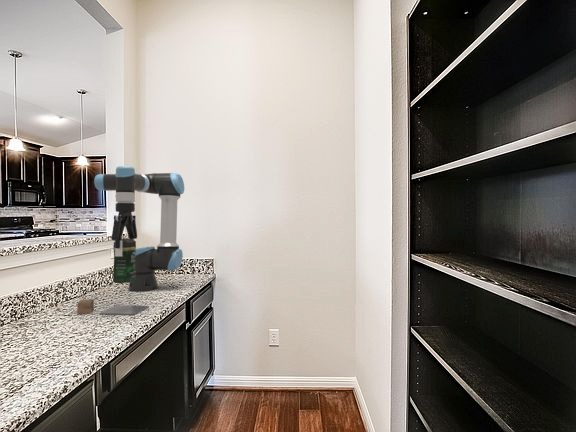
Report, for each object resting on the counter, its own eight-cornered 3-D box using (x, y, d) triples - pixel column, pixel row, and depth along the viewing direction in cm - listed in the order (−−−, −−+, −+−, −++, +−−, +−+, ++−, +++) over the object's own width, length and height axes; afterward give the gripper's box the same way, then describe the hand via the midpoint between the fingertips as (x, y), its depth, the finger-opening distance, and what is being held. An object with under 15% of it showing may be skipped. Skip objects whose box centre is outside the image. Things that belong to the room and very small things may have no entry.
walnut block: (80, 311, 155) (80, 299, 155) (93, 310, 157) (93, 299, 157) (77, 314, 150) (77, 302, 150) (90, 313, 152) (90, 301, 152)
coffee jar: (129, 284, 151) (129, 239, 151) (110, 284, 152) (110, 239, 151) (138, 279, 161) (138, 237, 161) (120, 279, 161) (121, 237, 161)
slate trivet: (116, 306, 163) (116, 305, 163) (148, 307, 162) (148, 306, 162) (99, 314, 150) (99, 313, 150) (134, 315, 149) (134, 313, 149)
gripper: (129, 203, 168) (129, 252, 168) (101, 201, 146) (101, 257, 146) (145, 203, 167) (145, 252, 167) (119, 201, 145) (119, 258, 145)
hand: (125, 254), depth 156 cm, fingers closed on coffee jar, 9 cm apart
